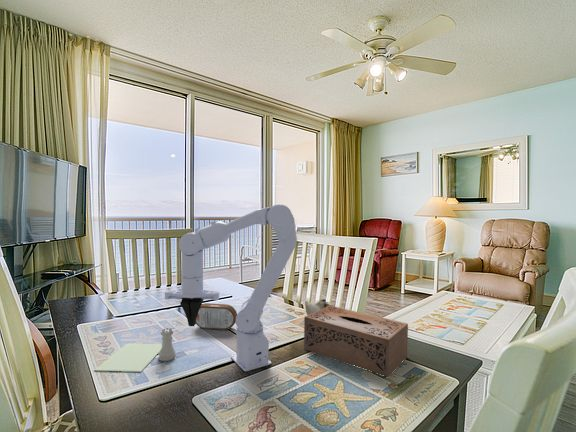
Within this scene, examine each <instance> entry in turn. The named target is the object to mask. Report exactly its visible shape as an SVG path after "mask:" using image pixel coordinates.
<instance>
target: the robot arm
mask: <svg viewBox="0 0 576 432" xmlns="http://www.w3.org/2000/svg"><path fill="white" fill-rule="evenodd" d="M268 224H269V226H270V227H271V228H272V229H273V231H274V232H275V235H276V238H277V241H278V244H277V246H276V248H275V250H274V251H273V253H272V255H271V257H270V258H269V260H268V263H267V265H266V266H265V268H264V271H263V273H262V274H261V276H260V278H259V280H258V282H257V284H256V286H255V287H254V290H253V291H252V293H251V295H250V297H249V298H248V299H247V300H246V301H244V302H243V303H242V305H241V308H240V309H239V311H238V312H237V316H236V323H235V325H236V339H235V340H236V346H235V347H236V349H235V350H236V351H235V352H236V354H231V355H230V359H232V360H233V361H234V362H235V363H236V364H237V365H238V366H239V368H241V369H242V371H244V372H249V371H252V370H256V369H259V368H262V367H267V366H269V365H272V361H271V360H270V359H269V352H270V350H269V347H270V346H269V343H270V342H269V339H268V337H266V335H265V333H264V324H263V323H262V322H261V317H262V315H263V314H264V313H263V312H264V307H265V306H266V303H267V301H268V299H269V297H270V295H271V294H272V292H273V290H274V287H275V286H276V284H277V283H278V280H279V279H280V278H281V277H280V276H281V274H282V273H283V270H284V269H285V267H286V265H287V263H288V261H289V259H290V258H291V256H292V254H293V252H294V250H295V248H296V246H297V245H298V244H297V243H298V238H297V230H296V222H295V218H294V215H293V213H292V210H291V209H290V208H289V207H288V206H287V205H284V204H274V205H273V206H268V207H263V208H260V209H255V210H253V211H251V212H249V213H247V214H244V215H241V216H240V217H238V218H236V219H233V220H231V221H229V222H223V221H221V220H218V221H217V220H213V221H211V222H210V224H209V225H206V226H203V227H201V228H199V227H197V228H195V229H194V231H193V232H186V233H185V234H183V235H182V236H181V237H180V238H179V241H178V249H179V250H180V252H181V289H179V290H177V289H176V290H167V291H166V292H165V293H164V300H181V301H180V303H179V305H180V307H181V309H182V310H183V312H184V314H185V316H186V320H187V324H188V327H195V325H197V324H196V319H197V315H198V312H199V309H200V307H201V304H203V302H204V300H208V301H209V300H210V301H211V300H214V301H219V299H220V291H214V290H206V289H204V249H210V248H211V247H212V248H213V247H214V246H217V245H220V244H221V243H224V242H227V241H228V240H229V238H230V236H231V234H233V233H237V232H239V231H240V230H243V229H246V228H249V227H252V226H254V225H261V226H262V225H263V226H267V225H268Z"/></svg>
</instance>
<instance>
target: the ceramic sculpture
mask: <svg viewBox="0 0 576 432" xmlns="http://www.w3.org/2000/svg"><path fill="white" fill-rule="evenodd" d="M304 303H305V313H306V316H307V315H310V314H312V313H314V312H316V311H318V310H321V309H323V308H325V307H327V306H334V307H336V305H335V304H334V303H332V302H329V301H326V299H324V298H322V299H320V300H318V301H317V302H316V303H313V302H311V301H307V300H305V302H304Z"/></svg>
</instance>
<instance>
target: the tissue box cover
mask: <svg viewBox="0 0 576 432" xmlns="http://www.w3.org/2000/svg"><path fill="white" fill-rule="evenodd" d="M334 306H335V305H334ZM334 306H327V307H325V308H323V309H321V310H318V311H316V312H314V313H312V314H310V315H307V314H306V315H305V316H304V320H303V321H304V325H303V326H304V327H303V328H304V330H303V339H304V340H303V349H304V350H306V351H309V352H311V353H315V354H317V355H321V356H323V357H326V358H329V357H330V358H329V359H331V358H332V359H331V360H334V359H336V360H335V361H337V360H339V361H338V362H340V361H342V362H341V363H343V362H345V363H344V364H346V363H348V364H347V365H349V364H351V365H355V366H358V367H361V368H364V369H367V370H370V371H372V372H375V373H378V374H381V375H384V376H386V377H389V376H390V375H391V374H392V372H393V371H394V370H395V369H396V368H397V367H398V366H399V365H400V364H401V362H402V361H403V360H404V359H405V360H406V359H407V358H408V344H409V343H408V342H409V341H408V339H409V337H408V335H409V333H408V332H409V323H407V322H404V321H403V322H402V321H399V320H398V321H397V320H393V319H391V318H390V319H389V318H385V317H380V316H376V315H371V314H368V313H364V312H358V311H356V310H350V309H346V308H342V307H337V306H335V307H334ZM406 357H407V358H406ZM405 360H404V361H405ZM351 365H350V366H351ZM401 365H402V364H401ZM401 365H400V366H401ZM400 366H399V367H400ZM399 367H398V368H399ZM398 368H397V369H398ZM397 369H396V370H397ZM396 370H395V371H396ZM395 371H394V372H395ZM372 372H371V373H372ZM392 375H393V374H392ZM392 375H391V376H392ZM391 376H390V377H391ZM386 377H385V378H386ZM390 377H389V378H390Z"/></svg>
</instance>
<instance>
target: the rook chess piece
mask: <svg viewBox="0 0 576 432" xmlns="http://www.w3.org/2000/svg"><path fill="white" fill-rule="evenodd" d="M161 330H162V331H161V332H160V335H161V337H162V338H161V341H162V343H161V344H162V348H161V350H160V352H159V353H158V359H159V360H160V361H161V362H169V361H172V360H173V359H175V358H176V350H175V348H174V347H173V342H172V341H173V340H172V339H173V336H172V335H173V334H174V331H173V329H172V328H171V327H166V328H163V329H161Z"/></svg>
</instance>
